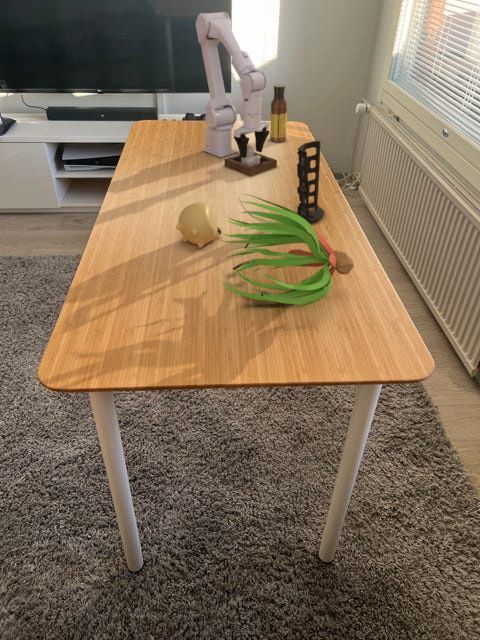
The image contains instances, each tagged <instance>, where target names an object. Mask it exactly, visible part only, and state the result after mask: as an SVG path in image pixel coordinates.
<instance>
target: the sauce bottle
mask: <svg viewBox="0 0 480 640" xmlns="http://www.w3.org/2000/svg"><path fill="white" fill-rule="evenodd" d="M285 90H286V86H285V85H284V84H282V83H281V84H279V83H278V84H274V85H273V99H272V101H271V103H270V120H269V121H270V122H269V127H270V129H269V137H270V140H271V141H272V142H276V143H283V142H285V141H286V139H287V127H288V126H287V124H288V104H287V101H286V98H285Z"/></svg>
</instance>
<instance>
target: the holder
mask: <svg viewBox="0 0 480 640" xmlns="http://www.w3.org/2000/svg"><path fill="white" fill-rule="evenodd" d="M312 148H314V149H315V154H313V155H308V152H307V151H306V150H308V149H312ZM296 154H297V155H298V162H297V163H296V173H297V175H296V176H297V178H298V186H297V187H296V188H297V189H296V191H297V193H298V201H299V202H298V205H297V206H296V207H297V214H299V215H300V216H302V217H303V218H304V219H306V220H307V221H308V222H309V223H310V225H312V224H315V223H317V222H318V221H321V220H322V219H323V218H324V216H325V211H324V209H323V208H321V207H320V206H319V205H318V203H319V201H318V199H319V187H320V165H321V140H314V141H309V142H305V143H302V144H301V145H300V146H299V147H298V148H297V153H296ZM313 161H315V165H314V167H312V166H311V163H312V162H313ZM313 173H314V178H313V179H310V180H309V174H313ZM312 185H314V190H312V191H311V186H312ZM310 197H313V201H312V202H310V200H309V198H310ZM310 209H314V210H310Z"/></svg>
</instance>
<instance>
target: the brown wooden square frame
mask: <svg viewBox="0 0 480 640" xmlns="http://www.w3.org/2000/svg"><path fill="white" fill-rule="evenodd" d="M254 152H255V154H254V156H256V155H258V156H260V157H261V158H260V163H259V164H255V165H254V166H252V167H250V166H248V165H245V164H242V162H241V159H242V157H241V156H240V153H238V154H236V155H233V156H230V157H227V158H224V167H226V168H228V169H231V170H233V171H236V172H238V173H240V174H244V175H245V176H247V177H248V176H249V177H253V176H256V175H259V174H261V173H265V172H267V171H270V170H273V169H275V168H277V165H278V159H275V158H272V157H270V156H267V155H264V154H261V153H260V152H257V151H254Z"/></svg>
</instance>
